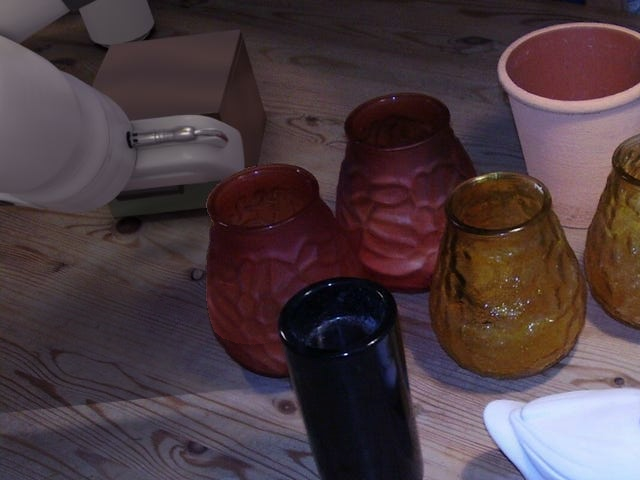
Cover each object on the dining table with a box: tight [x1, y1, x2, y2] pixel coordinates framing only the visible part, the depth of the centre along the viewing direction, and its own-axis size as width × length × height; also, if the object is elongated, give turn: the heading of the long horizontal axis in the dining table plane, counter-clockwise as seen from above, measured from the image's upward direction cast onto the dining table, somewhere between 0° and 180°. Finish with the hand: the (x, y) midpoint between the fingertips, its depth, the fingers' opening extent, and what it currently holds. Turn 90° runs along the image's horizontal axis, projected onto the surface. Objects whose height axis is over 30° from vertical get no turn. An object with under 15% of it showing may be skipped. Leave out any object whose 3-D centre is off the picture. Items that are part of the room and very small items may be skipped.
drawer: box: [106, 180, 222, 219], centre depth 90 cm, size 18×11×8 cm, turn 2°
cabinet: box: [91, 29, 267, 219], centre depth 93 cm, size 15×13×10 cm
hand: (142, 180), depth 82 cm, fingers open, 8 cm apart
